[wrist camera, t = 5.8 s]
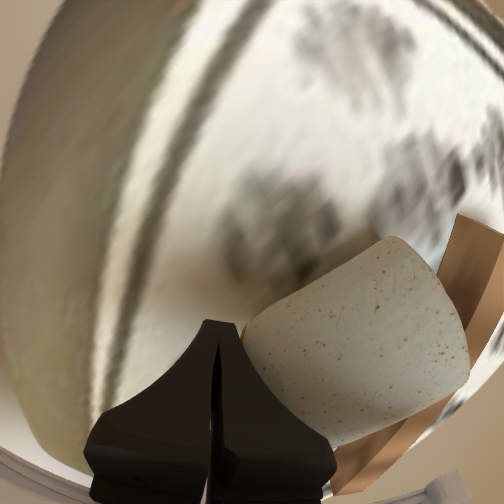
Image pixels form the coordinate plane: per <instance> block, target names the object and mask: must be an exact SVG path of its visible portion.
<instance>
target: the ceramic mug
mask: <svg viewBox="0 0 504 504" xmlns="http://www.w3.org/2000/svg"><path fill="white" fill-rule="evenodd" d="M240 340H241V342H242V345H243V347H244V349H245V351H246V353H247V355H248V357H249V359H250V361H251V362H252V364H253V366H254V367H255V369H256V371H257V372H258V374H259V375H260V377H261V378H262V380H263V381H264V382H265V384H266V385H267V386H268V388H269V389H270V390H271V391H272V393H273V394H274V395H275V396H276V397H277V398H278V400H279V401H280V402H281V403H282V404H283V405H284V406H285V407H286V408H287V409H289V410H290V411H291V412H292V413H293V414H294V415H295V416H296V417H297V418H299V419H300V420H301V421H302V422H304V423H305V424H306V425H307V426H309V427H310V428H312V429H313V430H315V431H316V432H318V433H319V434H321V435H322V436H324V437H325V438H327V439H328V441H329V443H330V445H331V448H335V447H338V446H341V445H344V444H347V443H350V442H353V441H355V440H358V439H360V438H362V437H364V436H367V435H369V434H371V433H374V432H376V431H378V430H381V429H383V428H385V427H388V426H390V425H392V424H395V423H397V422H399V421H401V420H403V419H405V418H407V417H409V416H412V415H413V414H415V413H417V412H419V411H421V410H423V409H425V408H427V407H429V406H431V405H432V404H434V403H436V402H438V401H440V400H441V399H443V398H445V397H447V396H448V395H450V394H452V393H453V392H455V391H457V390H458V389H460V388H461V387H463V386H464V384H465V383H466V382H467V380H468V379H469V375H470V358H469V352H468V346H467V340H466V336H465V333H464V329H463V326H462V323H461V320H460V318H459V315H458V313H457V311H456V309H455V307H454V305H453V303H452V301H451V300H450V298H449V297H448V295H447V294H446V292H445V290H444V288H443V286H442V284H441V282H440V280H439V279H438V277H437V276H436V274H435V273H434V271H433V270H432V269H431V268H430V267H429V266H428V264H427V263H426V262H425V261H424V260H423V258H422V257H421V256H420V255H419V254H418V253H417V252H416V251H415V250H414V249H413V248H411V247H410V246H409V245H408V244H407V243H406V242H405V241H403V240H401V239H400V238H398V237H395V236H388V237H385V238H383V239H381V240H380V241H378V242H377V243H375V244H374V245H372V246H371V247H369V248H368V249H366V250H364V251H363V252H361V253H360V254H358V255H357V256H355V257H354V258H352V259H351V260H349V261H348V262H346V263H344V264H342V265H340V266H339V267H337V268H335V269H333V270H332V271H330V272H328V273H327V274H325V275H323V276H322V277H320V278H318V279H317V280H315V281H313V282H312V283H310V284H308V285H307V286H305V287H303V288H302V289H300V290H298V291H296V292H294V293H292V294H290V295H288V296H287V297H285V298H283V299H281V300H279V301H277V302H276V303H274V304H272V305H270V306H269V307H268V308H266V309H265V310H264V311H263V312H261V313H260V314H258V315H257V316H256V317H254V318H253V319H252V320H251V321H250V322H249V323H248V324H247V325H246V326H245V327H244V329H243V330H242V333H241V337H240Z"/></svg>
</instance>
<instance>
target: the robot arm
mask: <svg viewBox="0 0 504 504" xmlns="http://www.w3.org/2000/svg"><path fill="white" fill-rule="evenodd" d="M210 420H211V431H210ZM83 453H84V456H85V459H86V460H87V462H88V464H89V466H90V468H91V470H92V471H93V473H94V477H93V481H92V485H91V488H88V487H86V486H83V485H80V484H77V483H75V482H72V481H70V480H67V479H65V478H62V477H60V476H58V475H55V474H53V473H51V472H49V471H46V470H44V469H42V468H40V467H38V466H36V465H34V464H32V463H30V462H28V461H26V460H24V459H22V458H20V457H18V456H17V455H15V454H13V453H11V452H10V451H8V450H6V449H5V448H3V447H1V446H0V504H321V501H320V499H322V498H323V491H322V487H323V486H324V485H325V484H326V483H327V482H328V481H329V480H330V479H331V478H332V477H333V475H334V474H335V472H336V471H337V462H336V458H335V455H334V453H333V450H332V448H331V445H330V443H329V441H328V439H327V438H325V437H324V436H322V435H321V434H319V433H318V432H316V431H315V430H313V429H312V428H310V427H309V426H307V425H306V424H305V423H304V422H302V421H301V420H300V419H299V418H297V417H296V416H295V415H294V414H293V413H292V412H291V411H290V410H289V409H287V408H286V407H285V406H284V405H283V404H282V403H281V402H280V401H279V400H278V398H277V397H276V396H275V395H274V394H273V393H272V391H271V390H270V389H269V388H268V386H267V385H266V384H265V382H264V381H263V380H262V378H261V377H260V375H259V374H258V372H257V371H256V369H255V367H254V366H253V364H252V362H251V361H250V359H249V357H248V355H247V353H246V351H245V349H244V347H243V345H242V342H241V340H240V338H239V335H238V332H237V329H236V326H235V325H234V323H228V322H221V321H215V320H208V319H206V320H204V321H203V323H202V325H201V328H200V330H199V331H198V333H197V335H196V336H195V338H194V340H193V341H192V342H191V344H190V345H189V347H188V348H187V349H186V351H185V352H184V353H183V354H182V355H181V357H180V358H179V359H178V360H177V361H176V362H175V363H174V365H173V366H172V367H171V368H170V369H169V370H168V371H167V372H165V373H164V374H163V375H162V376H161V377H160V378H159V379H158V380H156V381H155V382H154V383H153V384H152V385H150V386H149V387H148V388H146V389H145V390H143V391H142V392H140V393H139V394H137V395H136V396H134V397H133V398H131V399H130V400H128V401H126V402H124V403H123V404H121V405H119V406H117V407H115V408H112V409H110V410H108V411H106V412H104V413H102V415H101V416H100V418H99V419H98V421H97V422H96V424H95V425H94V427H93V429H92V431H91V432H90V435H89V437H88V440H87V443H86V446H85V449H84V451H83ZM370 504H475V503H474V501H473V499H472V497H471V495H470V493H469V490H468V488H467V486H466V484H465V482H464V480H463V478H462V476H461V474H460V472H459V470H455V471H452V472H450V473H447V474H445V475H442V476H440V477H438V478H436V479H434V480H433V481H432V482H430V483H429V484H428V485H427V486H426V487H425V488H423V489H420V490H417V491H414V492H411V493H407V494H404V495H401V496H397V497H394V498H390V499H386V500H383V501H378V502H374V503H370Z"/></svg>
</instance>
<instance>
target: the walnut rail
mask: <svg viewBox="0 0 504 504" xmlns="http://www.w3.org/2000/svg"><path fill="white" fill-rule="evenodd" d="M437 277H438V279H439V280H440V282H441V284H442V286H443V288H444V290H445V292H446V294H447V295H448V297H449V298H450V300H451V301H452V303H453V305H454V307H455V309H456V311H457V313H458V315H459V318H460V320H461V323H462V326H463V329H464V333H465V336H466V340H467V346H468V352H469V358H470V370H471V369H472V367H473V366H474V364H475V363H476V361H477V359H478V358H479V356H480V354H481V353H482V351H483V349H484V348H485V346H486V344H487V343H488V341H489V339H490V337H491V335H492V334H493V332H494V330H495V328H496V326H497V324H498V322H499V320H500V318H501V316H502V314H503V312H504V234H502V233H500V232H498V231H496V230H494V229H492V228H490V227H488V226H486V225H484V224H481V223H479V222H476V221H474V220H471V219H469V218H466V217H464V216H461V215H459V214H458V215H457V218H456V221H455V225H454V228H453V231H452V234H451V237H450V240H449V243H448V246H447V249H446V252H445V255H444V257H443V260H442V263H441V265H440V268H439V271H438V273H437ZM455 392H456V391H455ZM455 392H453V393H452V394H450V395H448V396H447V397H445V398H443V399H441V400H440V401H438V402H436V403H434V404H432V405H431V406H429V407H427V408H425V409H423V410H421V411H419V412H417V413H415V414H413V415H412V416H409V417H407V418H405V419H403V420H401V421H399V422H397V423H395V424H392V425H390V426H388V427H385V428H383V429H381V430H378V431H376V432H374V433H371V434H369V435H367V436H364V437H362V438H360V439H358V440H355V441H353V442H350V443H347V444H344V445H341V446H339V447H338V448H337V449H336V451H335V452H334V455H335V458H336V462H337V471H336V472H335V474H334V475H333V477H332V478H331V479H330V483H331V488H332V492H333V496H338V495H345V494H351V493H357V492H362V491H364V490H365V489H366V488H367V487H368V486H369V485H371V484H372V483H373V482H374V481H375V480H376V479H378V478H379V477H380V476H381V475H382V474H383V473H384V472H385V471H386V470H387V469H388V468H390V466H392V465H393V464H394V463H395V462H396V461H397V460H398V459H399V458H400V457H401V456H402V455H403V454H404V453H405V452H406V451H407V450H408V449H409V448H410V447H411V445H412V444H413V443H414V442H415V441H416V440H417V439H418V438H419V437H420V436H421V435H422V433H423V432H424V431H425V430H426V429H427V428H428V426H429V425H430V424H431V423H432V422H433V421H434V419H435V418H436V417H437V416H438V414H439V413H440V412H441V411H442V409H443V408H444V407H445V406H446V404H447V403H448V402H449V400H450V399H451V398H452V396H453V395H454V394H455Z"/></svg>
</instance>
